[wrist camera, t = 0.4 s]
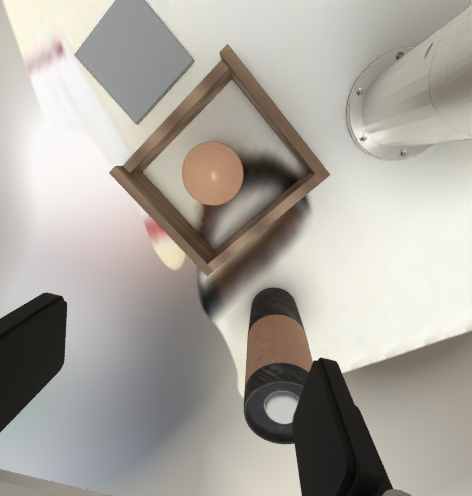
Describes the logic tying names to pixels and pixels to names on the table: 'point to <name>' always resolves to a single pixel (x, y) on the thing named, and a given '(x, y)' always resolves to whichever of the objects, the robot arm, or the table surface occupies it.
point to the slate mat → (134, 57)
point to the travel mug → (275, 365)
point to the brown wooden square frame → (175, 123)
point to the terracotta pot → (212, 173)
